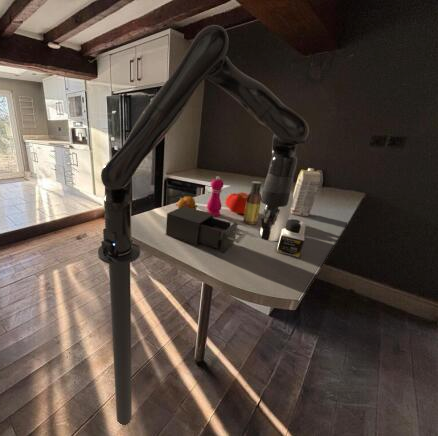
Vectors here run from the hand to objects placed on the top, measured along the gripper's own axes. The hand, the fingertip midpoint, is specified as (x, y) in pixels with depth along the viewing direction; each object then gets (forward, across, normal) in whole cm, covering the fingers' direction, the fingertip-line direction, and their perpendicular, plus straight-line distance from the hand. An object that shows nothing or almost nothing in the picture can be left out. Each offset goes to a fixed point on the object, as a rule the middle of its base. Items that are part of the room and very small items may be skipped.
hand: (265, 238), depth 78 cm
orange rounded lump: (+8, -22, -43) cm, 49 cm away
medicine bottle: (+8, -14, +6) cm, 17 cm away
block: (+6, 0, -17) cm, 18 cm away
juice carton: (+8, -63, +2) cm, 64 cm away
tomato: (+8, -43, -23) cm, 49 cm away
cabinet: (+8, 0, -29) cm, 30 cm away
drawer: (+7, 0, -16) cm, 18 cm away
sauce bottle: (+8, -32, -14) cm, 36 cm away
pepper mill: (+8, -30, -32) cm, 45 cm away
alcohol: (+8, -22, -2) cm, 24 cm away
